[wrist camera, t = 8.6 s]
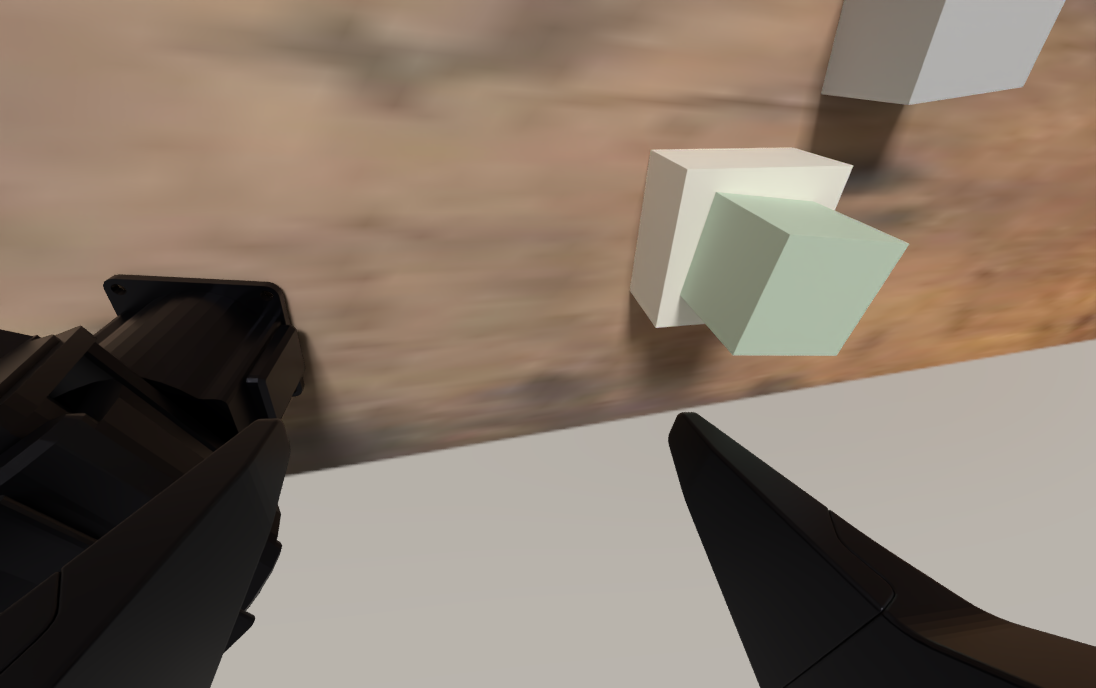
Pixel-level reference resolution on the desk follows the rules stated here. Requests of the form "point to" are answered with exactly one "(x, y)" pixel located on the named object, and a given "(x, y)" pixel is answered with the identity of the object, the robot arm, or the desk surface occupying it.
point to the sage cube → (785, 274)
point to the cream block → (684, 203)
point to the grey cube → (935, 47)
